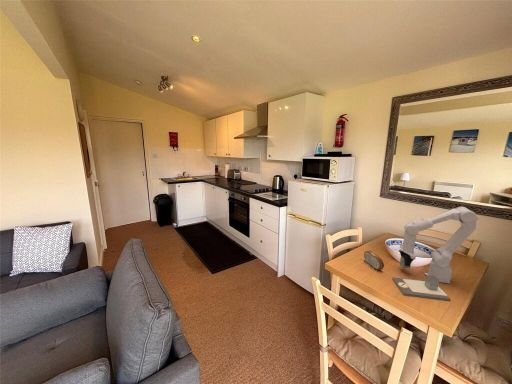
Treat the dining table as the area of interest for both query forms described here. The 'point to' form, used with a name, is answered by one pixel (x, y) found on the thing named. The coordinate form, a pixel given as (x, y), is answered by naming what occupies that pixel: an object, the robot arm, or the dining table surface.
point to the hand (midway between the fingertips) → (405, 263)
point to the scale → (419, 289)
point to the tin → (374, 260)
